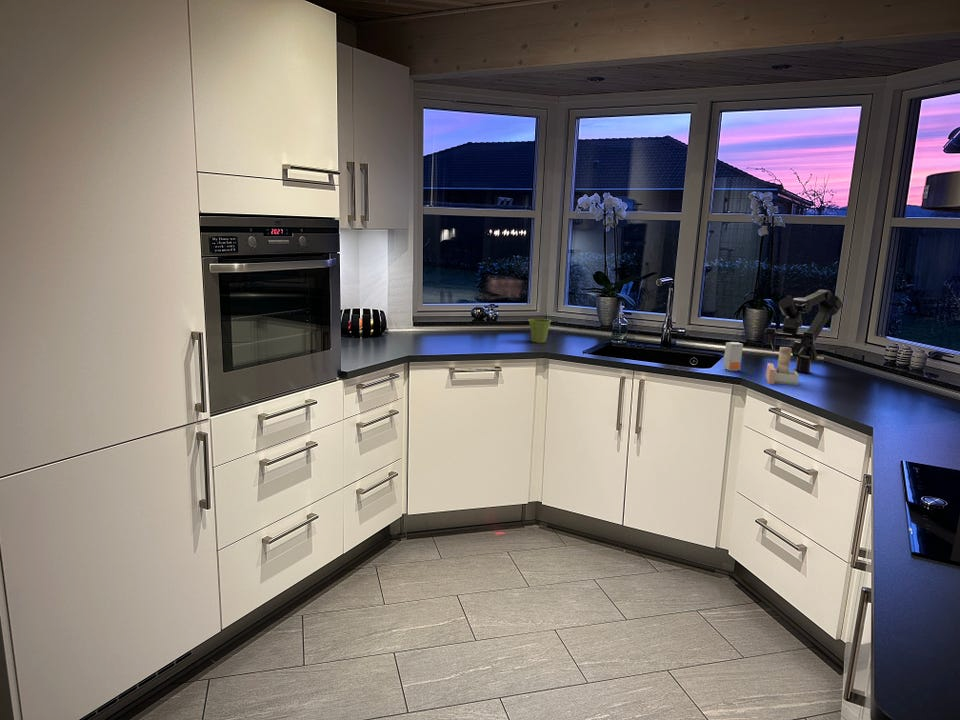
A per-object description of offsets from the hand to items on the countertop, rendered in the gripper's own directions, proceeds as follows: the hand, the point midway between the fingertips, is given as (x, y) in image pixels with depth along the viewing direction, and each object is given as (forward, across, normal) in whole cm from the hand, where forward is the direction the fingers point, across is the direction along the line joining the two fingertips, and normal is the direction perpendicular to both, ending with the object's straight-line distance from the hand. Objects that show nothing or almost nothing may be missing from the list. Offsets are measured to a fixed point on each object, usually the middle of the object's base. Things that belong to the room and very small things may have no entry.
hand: (785, 352), depth 278 cm
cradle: (+11, +1, +5) cm, 12 cm away
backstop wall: (+12, -4, +4) cm, 13 cm away
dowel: (+10, 0, +4) cm, 11 cm away
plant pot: (0, -117, +16) cm, 118 cm away
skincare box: (+3, -22, +14) cm, 26 cm away
